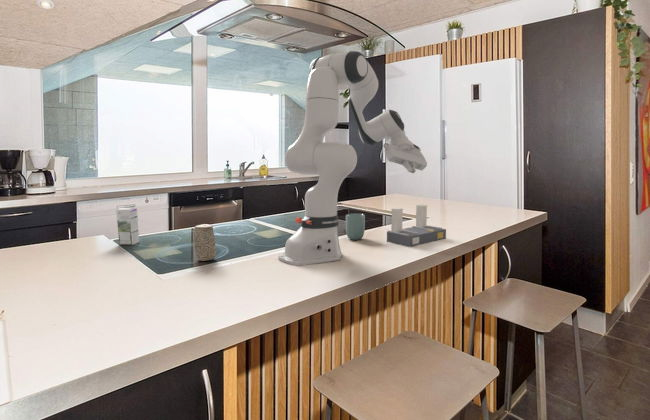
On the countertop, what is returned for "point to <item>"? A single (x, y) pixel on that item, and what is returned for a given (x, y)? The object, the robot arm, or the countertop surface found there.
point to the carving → (204, 242)
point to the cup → (355, 226)
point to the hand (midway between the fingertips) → (412, 171)
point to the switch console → (416, 235)
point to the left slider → (396, 219)
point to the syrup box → (127, 225)
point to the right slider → (421, 215)
